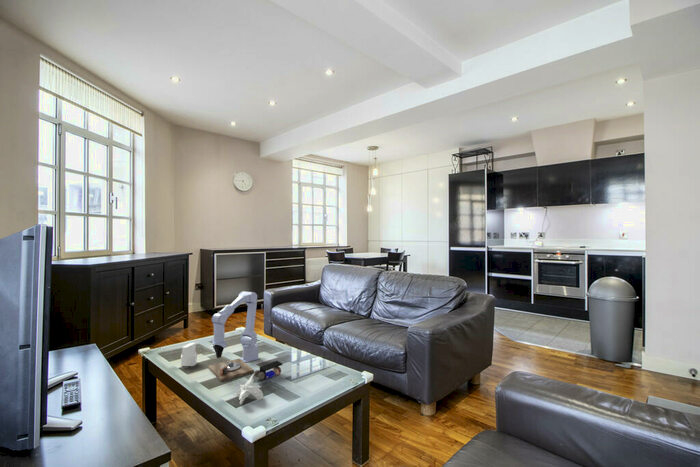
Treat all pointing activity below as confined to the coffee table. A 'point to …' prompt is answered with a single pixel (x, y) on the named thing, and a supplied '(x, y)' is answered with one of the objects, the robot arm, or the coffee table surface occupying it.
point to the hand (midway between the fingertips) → (219, 357)
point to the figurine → (249, 390)
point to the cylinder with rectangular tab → (189, 355)
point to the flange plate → (229, 367)
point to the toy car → (264, 368)
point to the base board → (241, 371)
